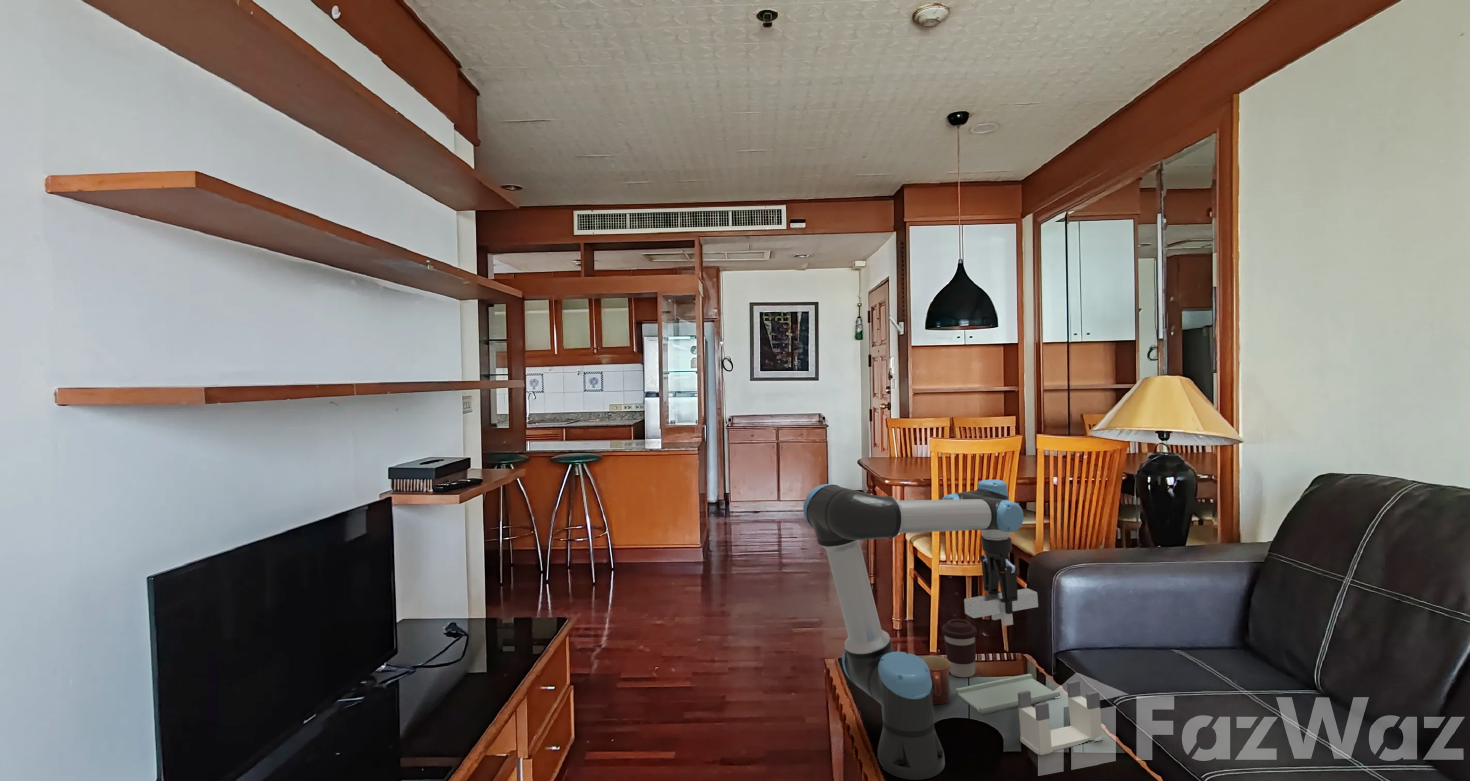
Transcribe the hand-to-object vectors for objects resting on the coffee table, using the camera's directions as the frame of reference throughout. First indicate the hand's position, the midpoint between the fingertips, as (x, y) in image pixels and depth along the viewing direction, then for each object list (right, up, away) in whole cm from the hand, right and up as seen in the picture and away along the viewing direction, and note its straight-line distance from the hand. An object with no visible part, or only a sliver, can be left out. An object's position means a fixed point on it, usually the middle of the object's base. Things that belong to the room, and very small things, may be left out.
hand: (1002, 621), depth 180 cm
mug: (-18, -22, 0) cm, 28 cm away
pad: (+1, -21, 0) cm, 21 cm away
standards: (+5, -20, -23) cm, 31 cm away
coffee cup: (-5, -21, +16) cm, 27 cm away
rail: (0, +3, 0) cm, 3 cm away
